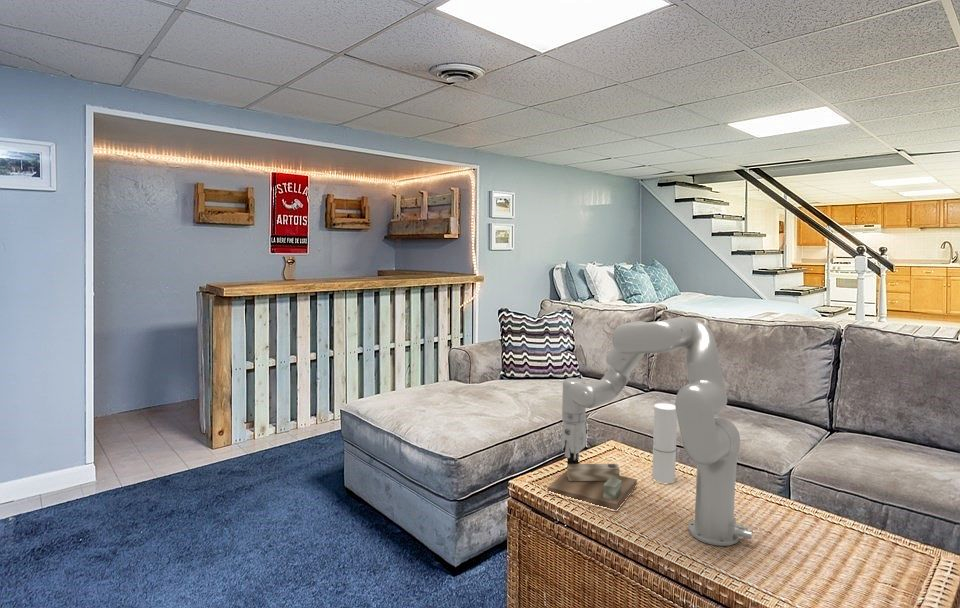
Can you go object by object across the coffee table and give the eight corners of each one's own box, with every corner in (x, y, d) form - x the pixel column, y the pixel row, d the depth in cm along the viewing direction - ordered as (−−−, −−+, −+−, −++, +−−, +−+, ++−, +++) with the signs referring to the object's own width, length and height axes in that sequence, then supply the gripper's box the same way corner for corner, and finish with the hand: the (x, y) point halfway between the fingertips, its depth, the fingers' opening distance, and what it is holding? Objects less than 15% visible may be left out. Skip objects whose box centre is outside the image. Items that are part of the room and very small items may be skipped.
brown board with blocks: (636, 486, 175) (637, 467, 174) (616, 512, 158) (616, 491, 157) (572, 472, 187) (573, 453, 186) (547, 494, 170) (547, 474, 169)
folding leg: (616, 475, 177) (616, 463, 176) (619, 480, 173) (619, 468, 172) (567, 475, 177) (567, 463, 177) (569, 481, 173) (569, 468, 173)
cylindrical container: (671, 475, 183) (674, 403, 181) (677, 484, 176) (679, 409, 174) (650, 475, 184) (652, 403, 181) (654, 484, 177) (656, 409, 174)
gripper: (575, 424, 169) (574, 481, 171) (593, 412, 181) (592, 465, 183) (553, 420, 173) (552, 475, 175) (572, 408, 185) (571, 460, 187)
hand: (572, 470), depth 179 cm, fingers closed
